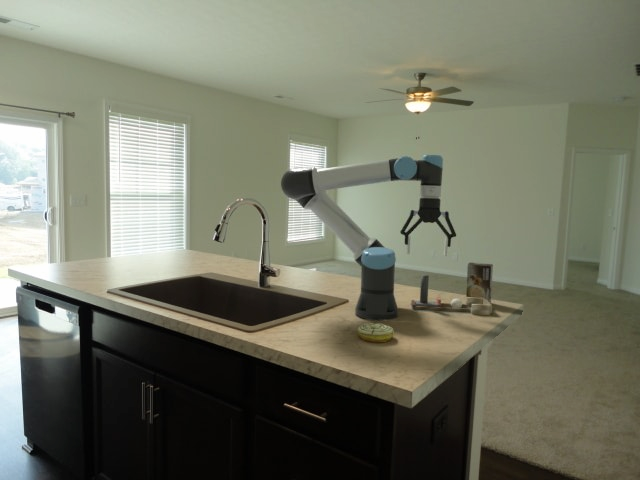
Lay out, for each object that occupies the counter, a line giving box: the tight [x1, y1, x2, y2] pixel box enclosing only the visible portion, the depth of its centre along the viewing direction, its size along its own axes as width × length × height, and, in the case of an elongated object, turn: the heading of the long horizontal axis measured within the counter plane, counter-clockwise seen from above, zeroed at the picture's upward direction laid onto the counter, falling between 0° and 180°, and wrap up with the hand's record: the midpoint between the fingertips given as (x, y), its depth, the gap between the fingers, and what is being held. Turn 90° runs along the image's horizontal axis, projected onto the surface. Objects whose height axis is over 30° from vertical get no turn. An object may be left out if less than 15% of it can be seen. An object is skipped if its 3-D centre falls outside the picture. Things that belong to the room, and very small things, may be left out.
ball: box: [450, 298, 463, 308], centre depth 170 cm, size 4×4×4 cm
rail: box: [410, 299, 471, 313], centre depth 171 cm, size 21×8×2 cm, turn 82°
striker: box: [414, 274, 442, 307], centre depth 171 cm, size 9×5×12 cm, turn 82°
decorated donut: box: [357, 322, 395, 343], centre depth 135 cm, size 10×11×4 cm
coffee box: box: [465, 262, 494, 305], centre depth 180 cm, size 9×6×16 cm
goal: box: [465, 296, 493, 316], centre depth 169 cm, size 7×12×4 cm, turn 172°
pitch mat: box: [410, 304, 472, 315], centre depth 170 cm, size 28×12×1 cm, turn 82°
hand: (426, 254), depth 170 cm, fingers open, 13 cm apart
